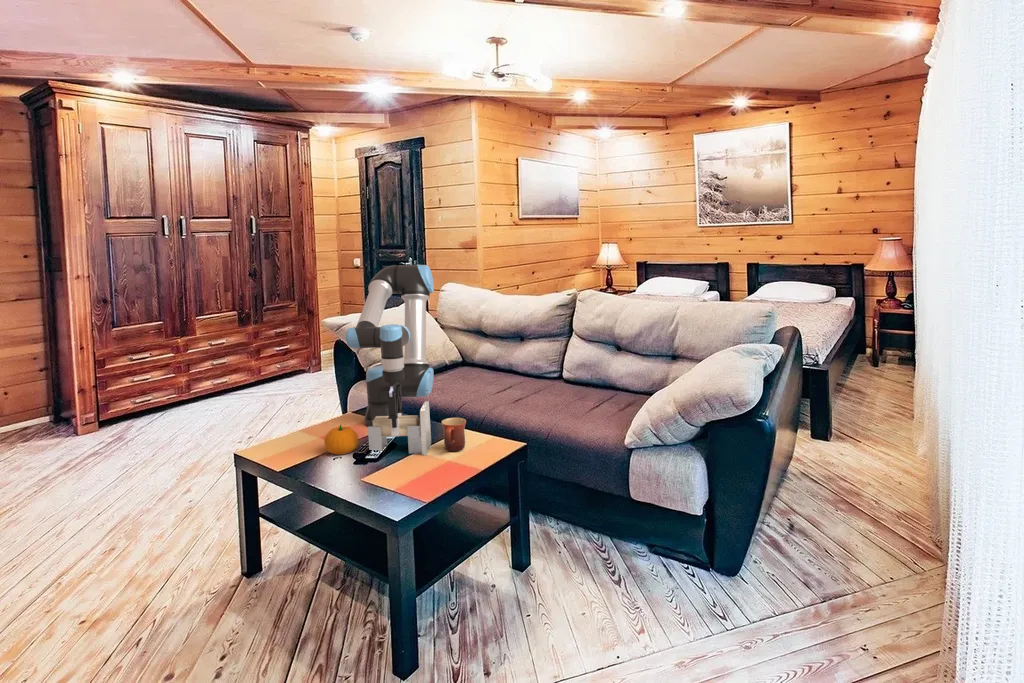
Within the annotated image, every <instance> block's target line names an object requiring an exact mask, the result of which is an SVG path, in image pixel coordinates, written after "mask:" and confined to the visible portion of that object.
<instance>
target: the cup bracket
mask: <svg viewBox="0 0 1024 683" xmlns="http://www.w3.org/2000/svg"><path fill="white" fill-rule="evenodd" d="M430 414H431V413H430V400H424V403H423V404H422V406H421V407H420V410H419V418H418V422H419V425H413V426H407V430H408V436H407V443H408V446H407V447H408V454H409V455H410V454H411V455H412V454H414V455H415V454H421V456H427V455H428V453H429V450H430V447H431V445H432V435H431V434H432V432H431V430H432V429H431V418H430Z"/></svg>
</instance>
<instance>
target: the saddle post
mask: <svg viewBox="0 0 1024 683" xmlns="http://www.w3.org/2000/svg"><path fill="white" fill-rule="evenodd" d="M367 434H368V448H369V450H379V451H382V452H383V449H384V447H385V445H386V443H387V444H388V439H387V437H388V436H382V432H381V426H374V423H373V426H371V427H370V426H367ZM369 450H368V451H369Z"/></svg>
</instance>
